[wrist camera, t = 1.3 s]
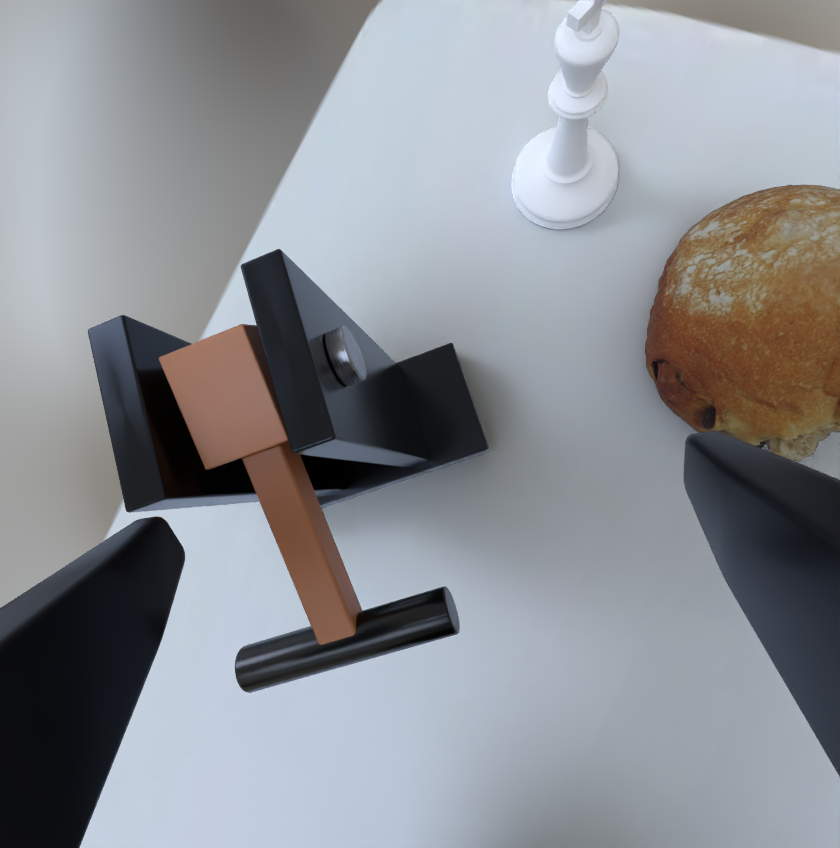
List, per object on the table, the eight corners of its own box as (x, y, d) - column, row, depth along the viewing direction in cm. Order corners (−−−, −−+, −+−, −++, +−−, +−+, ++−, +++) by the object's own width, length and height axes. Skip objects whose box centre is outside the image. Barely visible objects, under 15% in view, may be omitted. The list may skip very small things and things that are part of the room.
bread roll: (857, 345, 24) (1048, 199, 17) (822, 522, 20) (1060, 426, 12) (659, 264, 26) (755, 105, 19) (587, 407, 22) (677, 270, 15)
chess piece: (490, 189, 24) (473, -4, 15) (561, 114, 24) (592, -133, 14) (566, 250, 23) (601, 86, 14) (640, 172, 23) (732, -52, 13)
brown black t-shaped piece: (460, 606, 14) (459, 658, 12) (272, 660, 15) (235, 719, 13) (346, 302, 13) (319, 291, 11) (151, 379, 14) (87, 385, 12)
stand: (491, 451, 23) (457, 411, 10) (297, 516, 24) (33, 560, 11) (457, 353, 24) (382, 188, 10) (272, 421, 25) (-5, 354, 12)
